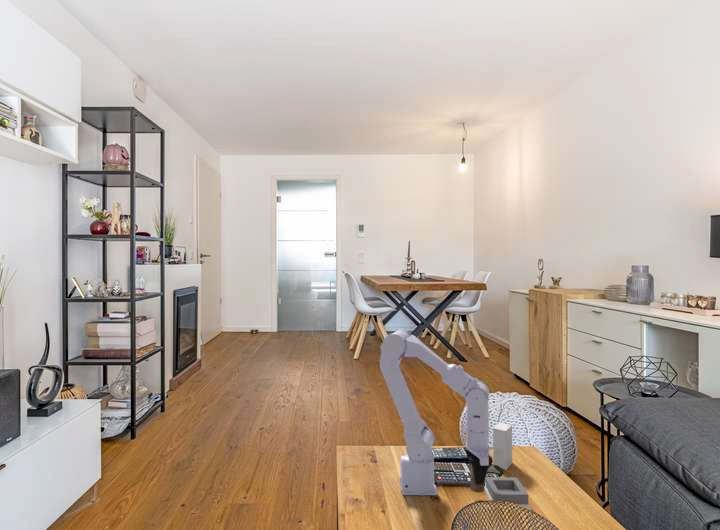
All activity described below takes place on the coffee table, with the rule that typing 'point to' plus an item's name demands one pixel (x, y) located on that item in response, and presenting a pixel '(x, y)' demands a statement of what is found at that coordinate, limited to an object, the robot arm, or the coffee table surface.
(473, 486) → the walnut peg
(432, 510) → the coffee table surface
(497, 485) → the socket board
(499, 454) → the skincare box
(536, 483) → the coffee table surface
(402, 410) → the robot arm
